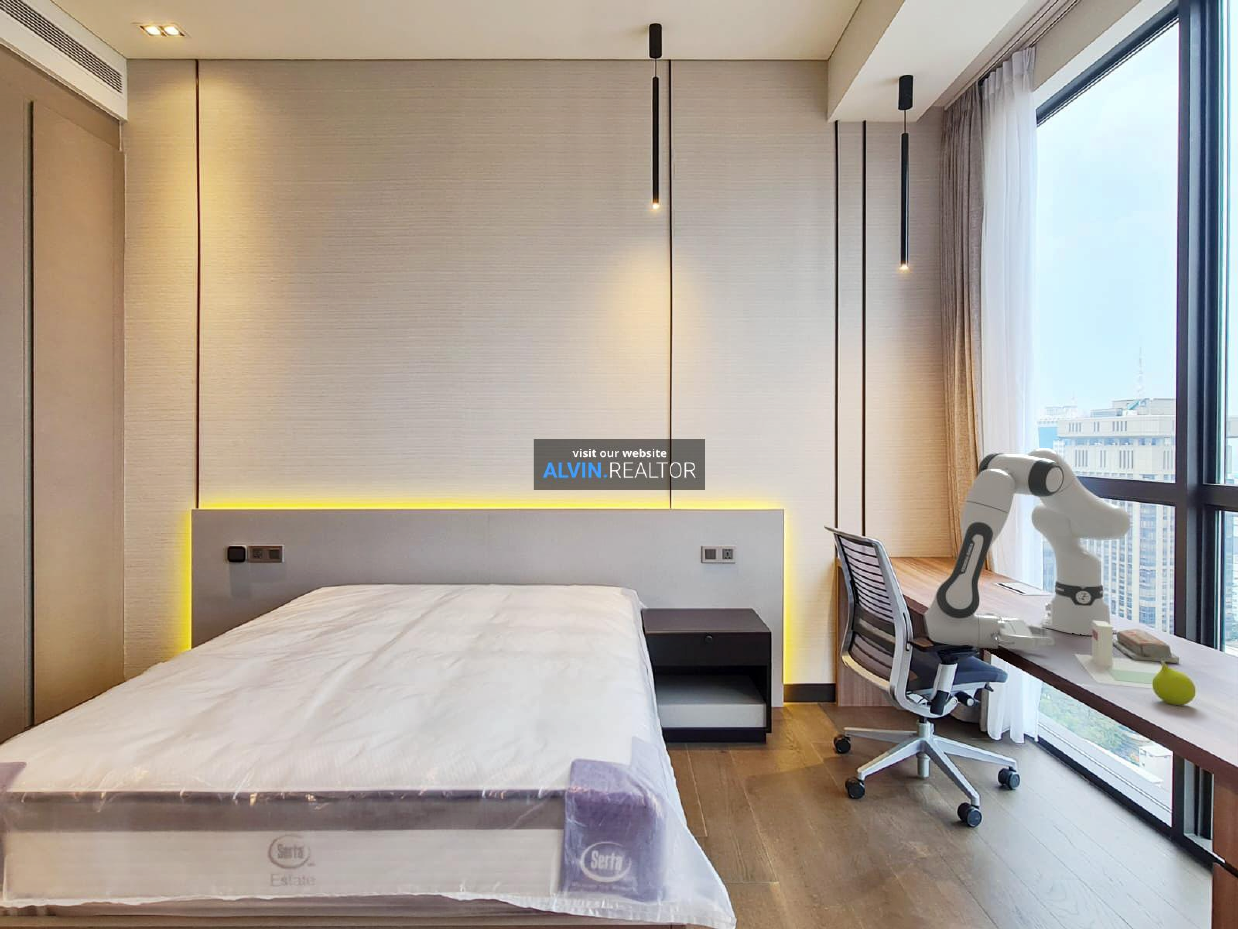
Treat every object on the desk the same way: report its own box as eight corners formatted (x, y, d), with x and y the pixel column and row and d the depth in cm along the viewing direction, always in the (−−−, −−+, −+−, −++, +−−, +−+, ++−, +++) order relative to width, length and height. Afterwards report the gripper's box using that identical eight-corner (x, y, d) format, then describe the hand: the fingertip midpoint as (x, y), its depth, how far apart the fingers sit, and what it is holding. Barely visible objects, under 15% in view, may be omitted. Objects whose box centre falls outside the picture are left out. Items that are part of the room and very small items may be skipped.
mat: (1073, 655, 176) (1073, 653, 176) (1157, 663, 169) (1157, 661, 169) (1096, 684, 154) (1096, 682, 154) (1194, 695, 147) (1194, 692, 147)
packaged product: (1180, 645, 166) (1132, 641, 170) (1180, 664, 166) (1133, 660, 170) (1151, 628, 183) (1108, 626, 187) (1151, 646, 183) (1108, 643, 186)
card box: (1092, 658, 172) (1091, 620, 172) (1106, 660, 170) (1106, 621, 170) (1097, 665, 166) (1097, 625, 166) (1112, 666, 165) (1112, 627, 165)
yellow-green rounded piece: (1145, 697, 146) (1145, 652, 146) (1181, 698, 145) (1181, 653, 145) (1165, 709, 139) (1165, 662, 139) (1203, 711, 138) (1204, 663, 138)
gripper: (994, 629, 169) (1057, 634, 163) (985, 611, 188) (1043, 615, 182) (994, 654, 169) (1058, 660, 164) (986, 633, 188) (1043, 638, 182)
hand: (1050, 636), depth 173 cm, fingers open, 8 cm apart
